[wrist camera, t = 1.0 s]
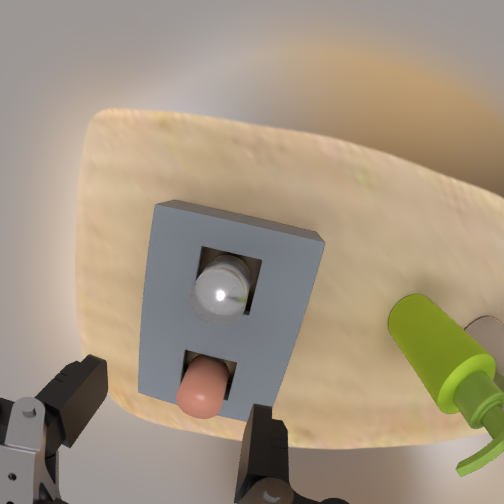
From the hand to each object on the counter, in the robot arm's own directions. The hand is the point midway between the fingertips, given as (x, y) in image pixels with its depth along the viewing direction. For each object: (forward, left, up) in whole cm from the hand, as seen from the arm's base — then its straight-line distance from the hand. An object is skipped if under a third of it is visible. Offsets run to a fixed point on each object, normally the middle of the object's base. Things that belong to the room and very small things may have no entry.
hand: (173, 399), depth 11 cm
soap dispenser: (-20, +2, -20) cm, 28 cm away
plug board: (0, +5, -20) cm, 20 cm away
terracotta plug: (0, +10, -16) cm, 18 cm away
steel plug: (0, 0, -16) cm, 16 cm away
